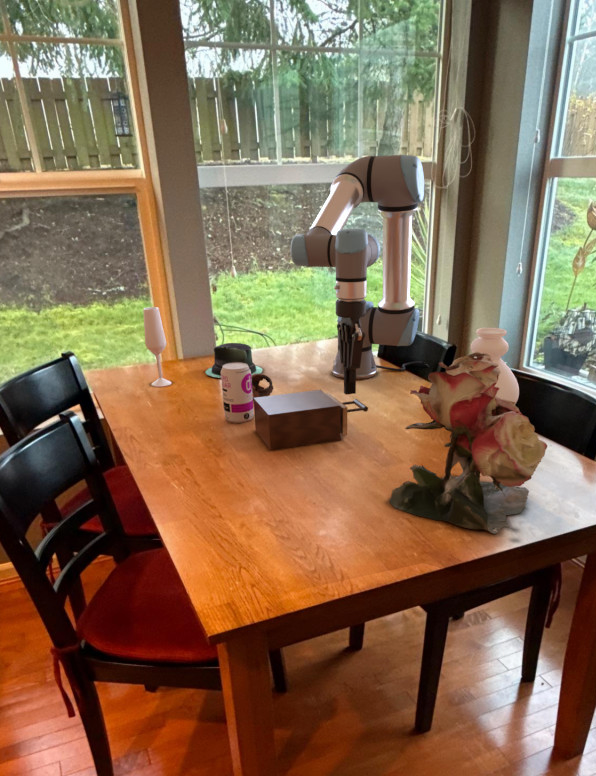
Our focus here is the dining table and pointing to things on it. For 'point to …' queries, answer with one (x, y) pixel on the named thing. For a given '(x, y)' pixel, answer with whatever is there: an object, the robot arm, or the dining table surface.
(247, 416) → the supplement can
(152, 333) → the champagne flute
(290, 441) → the cabinet
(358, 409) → the drawer
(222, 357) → the dark green rounded hat
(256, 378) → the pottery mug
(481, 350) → the decorative vase
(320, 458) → the dining table surface
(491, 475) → the rose bouquet
